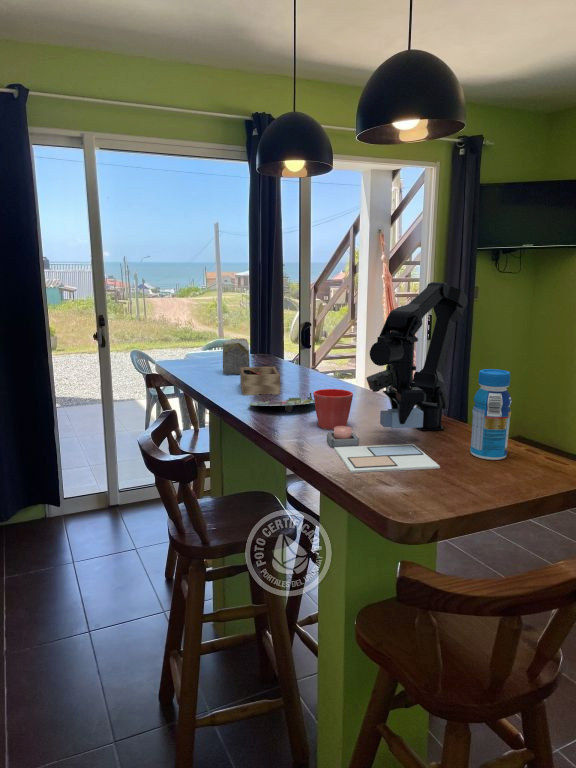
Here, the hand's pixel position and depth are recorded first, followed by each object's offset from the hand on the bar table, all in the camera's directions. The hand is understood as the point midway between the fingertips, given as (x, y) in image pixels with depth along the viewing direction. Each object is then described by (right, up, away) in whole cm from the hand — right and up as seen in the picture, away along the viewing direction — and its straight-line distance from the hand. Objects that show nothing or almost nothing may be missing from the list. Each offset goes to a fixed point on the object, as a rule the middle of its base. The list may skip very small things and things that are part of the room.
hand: (399, 421), depth 137 cm
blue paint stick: (+1, -1, 0) cm, 1 cm away
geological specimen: (-50, +14, +92) cm, 106 cm away
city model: (-29, +2, +36) cm, 46 cm away
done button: (-15, -5, -2) cm, 16 cm away
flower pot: (-16, -2, +14) cm, 21 cm away
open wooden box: (-39, +7, +61) cm, 73 cm away
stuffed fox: (-41, +7, +62) cm, 75 cm away
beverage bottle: (+19, -7, -10) cm, 23 cm away
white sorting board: (-6, -8, -13) cm, 16 cm away
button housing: (-15, -5, -2) cm, 16 cm away
